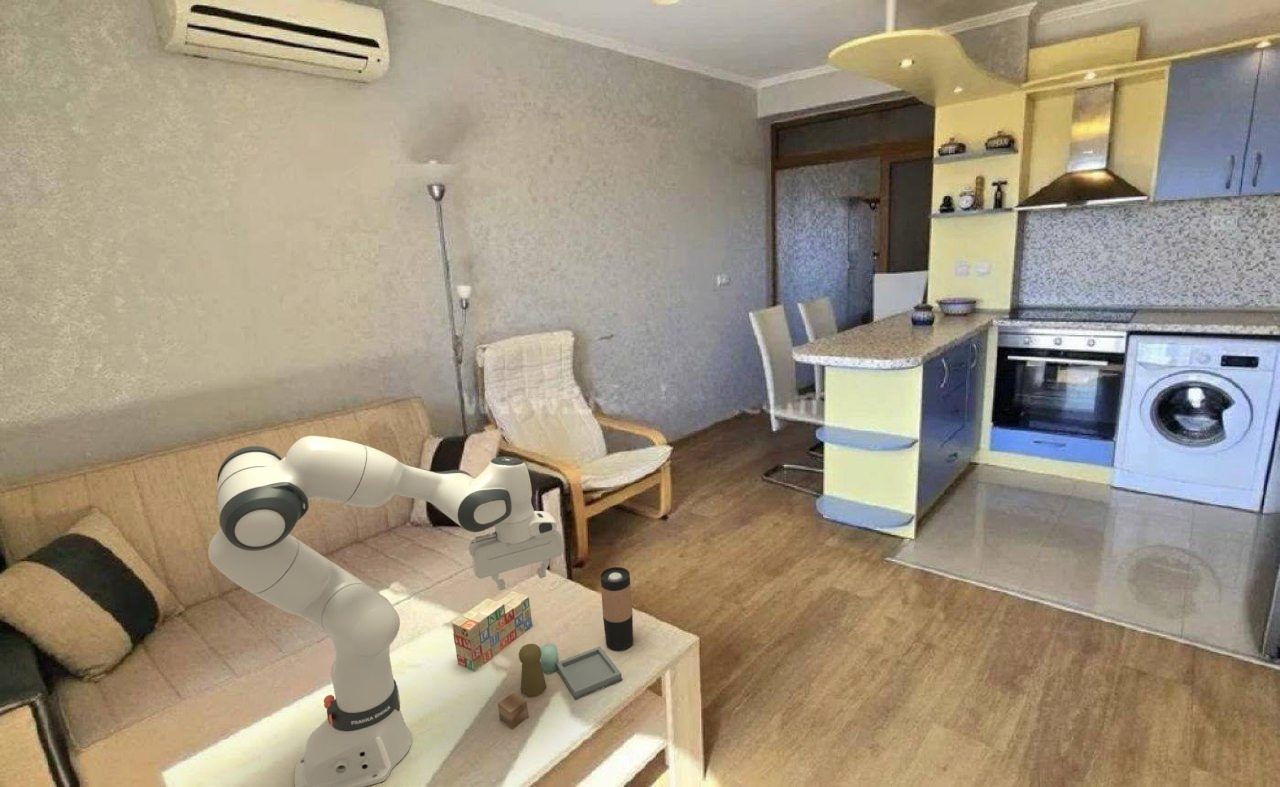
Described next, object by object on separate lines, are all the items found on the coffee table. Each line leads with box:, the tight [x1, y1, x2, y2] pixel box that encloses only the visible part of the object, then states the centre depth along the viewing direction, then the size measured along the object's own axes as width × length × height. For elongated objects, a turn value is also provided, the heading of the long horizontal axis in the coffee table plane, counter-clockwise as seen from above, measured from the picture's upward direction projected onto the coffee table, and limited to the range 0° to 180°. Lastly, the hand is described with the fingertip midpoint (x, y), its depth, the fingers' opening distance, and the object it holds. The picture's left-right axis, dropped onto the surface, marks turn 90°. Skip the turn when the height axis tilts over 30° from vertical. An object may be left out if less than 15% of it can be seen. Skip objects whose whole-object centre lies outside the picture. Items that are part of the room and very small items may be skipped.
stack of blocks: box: [451, 591, 533, 672], centre depth 163 cm, size 21×6×12 cm, turn 147°
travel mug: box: [600, 566, 634, 652], centre depth 160 cm, size 8×8×20 cm
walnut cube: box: [497, 691, 529, 730], centre depth 138 cm, size 4×4×4 cm
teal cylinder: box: [540, 643, 559, 674], centre depth 154 cm, size 4×4×5 cm
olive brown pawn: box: [518, 643, 547, 698], centre depth 146 cm, size 6×6×11 cm
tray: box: [556, 645, 623, 700], centre depth 151 cm, size 12×12×2 cm
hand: (522, 582), depth 140 cm, fingers open, 8 cm apart
